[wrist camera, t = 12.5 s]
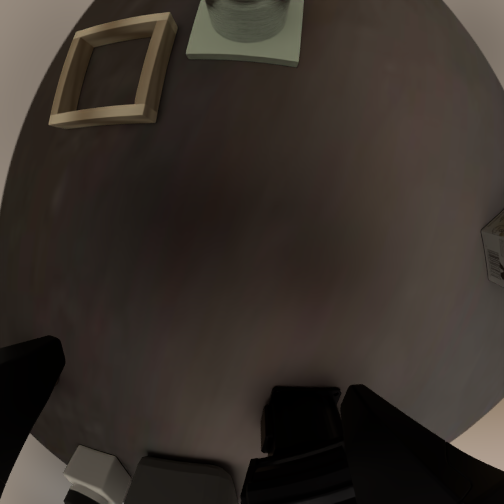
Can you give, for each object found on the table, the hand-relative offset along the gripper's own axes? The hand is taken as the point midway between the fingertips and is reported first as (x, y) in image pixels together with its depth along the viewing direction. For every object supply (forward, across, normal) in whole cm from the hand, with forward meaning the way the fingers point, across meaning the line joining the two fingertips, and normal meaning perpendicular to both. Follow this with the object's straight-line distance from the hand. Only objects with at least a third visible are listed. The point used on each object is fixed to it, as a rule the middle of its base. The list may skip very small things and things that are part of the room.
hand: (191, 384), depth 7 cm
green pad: (+13, +1, -19) cm, 23 cm away
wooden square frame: (+13, +11, -14) cm, 22 cm away
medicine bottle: (+13, +17, +35) cm, 41 cm away
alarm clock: (+13, +2, +33) cm, 36 cm away
